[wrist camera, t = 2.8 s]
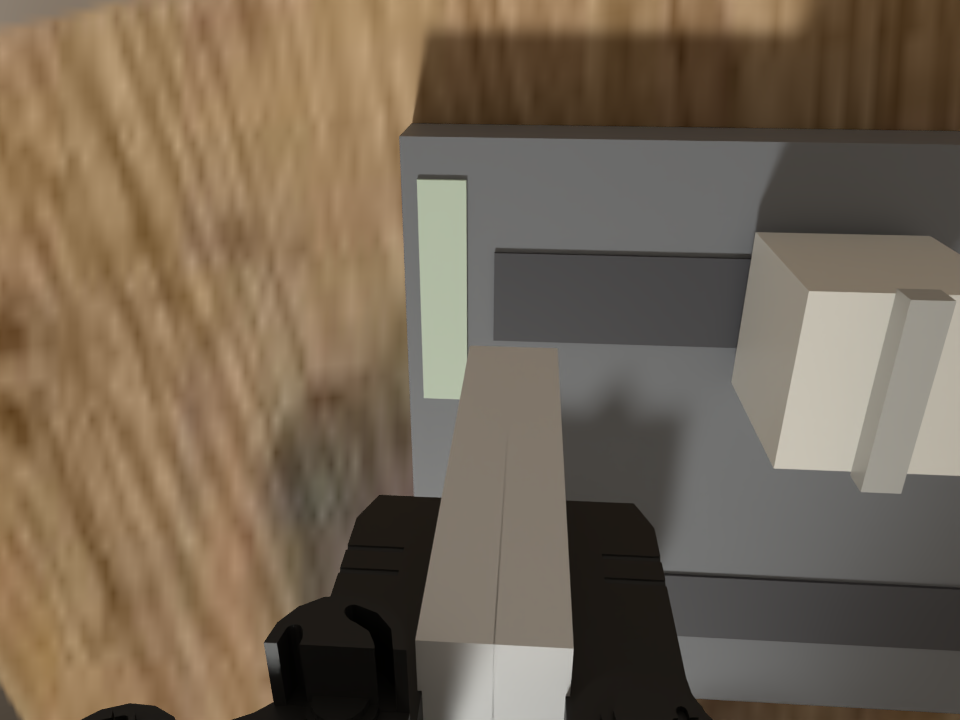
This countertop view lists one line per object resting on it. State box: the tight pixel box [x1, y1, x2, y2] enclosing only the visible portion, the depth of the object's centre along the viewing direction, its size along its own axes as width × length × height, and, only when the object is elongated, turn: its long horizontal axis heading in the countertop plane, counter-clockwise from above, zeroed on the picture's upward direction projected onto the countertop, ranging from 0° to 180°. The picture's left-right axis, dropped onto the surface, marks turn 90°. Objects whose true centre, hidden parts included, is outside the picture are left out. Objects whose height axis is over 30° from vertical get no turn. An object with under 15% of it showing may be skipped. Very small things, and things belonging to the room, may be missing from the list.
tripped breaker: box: [731, 232, 960, 494], centre depth 17 cm, size 4×4×5 cm
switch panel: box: [399, 123, 960, 714], centre depth 22 cm, size 18×21×2 cm
